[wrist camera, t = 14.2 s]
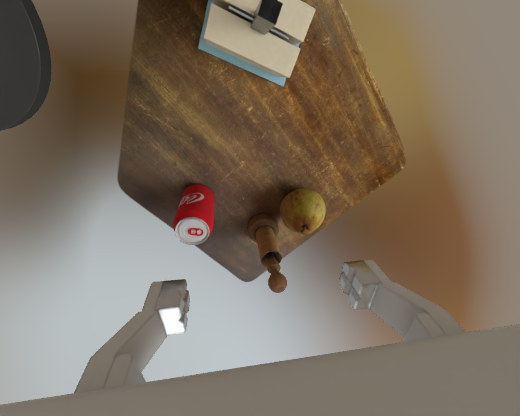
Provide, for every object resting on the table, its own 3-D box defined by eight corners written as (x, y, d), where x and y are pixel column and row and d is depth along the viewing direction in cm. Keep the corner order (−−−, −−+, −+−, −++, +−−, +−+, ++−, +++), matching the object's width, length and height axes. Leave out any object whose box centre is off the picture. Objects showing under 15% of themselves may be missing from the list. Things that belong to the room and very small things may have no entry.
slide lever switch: (198, 48, 34) (193, 43, 29) (216, -38, 30) (215, -64, 24) (282, 86, 38) (292, 88, 33) (309, 15, 34) (326, 3, 29)
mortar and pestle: (268, 208, 50) (288, 267, 34) (281, 228, 53) (306, 291, 37) (242, 223, 51) (251, 287, 35) (257, 242, 54) (271, 309, 38)
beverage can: (183, 180, 44) (171, 212, 34) (216, 184, 45) (214, 217, 35) (181, 208, 47) (170, 246, 37) (212, 212, 48) (210, 249, 38)
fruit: (324, 202, 51) (349, 234, 41) (290, 225, 53) (307, 261, 43) (304, 174, 47) (327, 201, 37) (268, 200, 49) (281, 233, 39)
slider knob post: (225, 25, 33) (228, -1, 22) (229, 10, 32) (233, -25, 21) (276, 50, 35) (301, 38, 24) (281, 36, 34) (309, 18, 23)
